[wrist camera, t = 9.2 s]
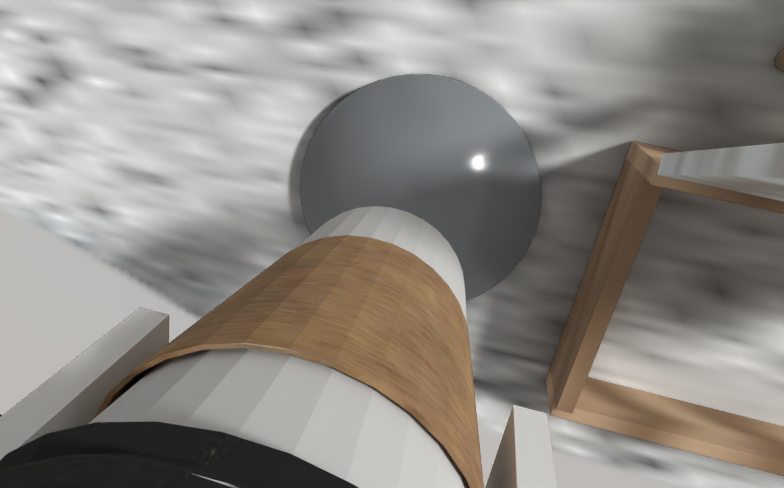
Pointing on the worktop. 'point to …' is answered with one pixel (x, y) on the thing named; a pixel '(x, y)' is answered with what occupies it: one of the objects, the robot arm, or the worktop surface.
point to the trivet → (430, 168)
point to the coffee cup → (297, 379)
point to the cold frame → (607, 278)
